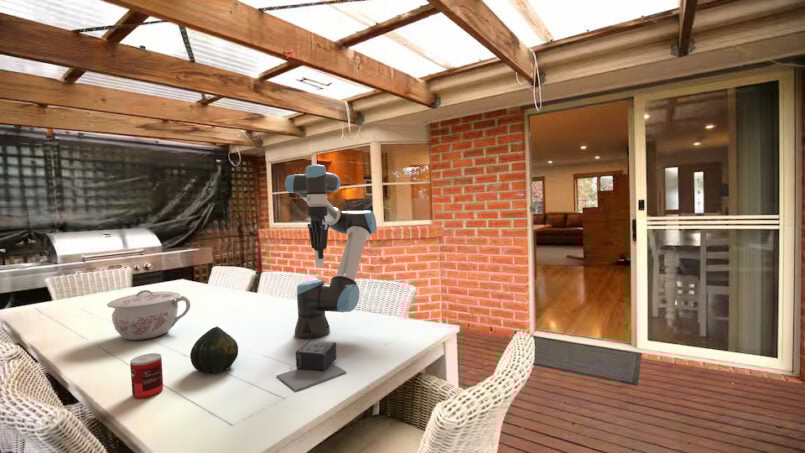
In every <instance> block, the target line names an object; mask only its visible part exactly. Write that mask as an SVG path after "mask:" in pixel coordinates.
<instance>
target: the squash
mask: <svg viewBox="0 0 805 453" xmlns="http://www.w3.org/2000/svg"><path fill="white" fill-rule="evenodd" d="M238 355H239V345H238V343H237V341H236V339H234V338H233V336H231V335H230V334H229V333H228V332H226V331H224V330H223V329H222V328H220V327H219V326H217V325H216V326H214V327H212V328H211V329H209V330H208V331H206V332H205V333H204V334H202V335H201V336H200V337H199V338H198V339H197V340H196V341H195V343H194V344H193V346H192V347H191V350H190V354H189V357H190V358H189V359H190V363H191V365H192V367H193V368H194V369H195V370H196V371H198V372H199V373H205V372H211V371H212V373H214V374H219V373H221V372H222V371H227V370H228V369H230V368H231V367H232V365H233V364H234V363H235V361H236V360H237V358H238Z"/></svg>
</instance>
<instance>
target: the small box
mask: <svg viewBox="0 0 805 453" xmlns="http://www.w3.org/2000/svg"><path fill="white" fill-rule="evenodd" d="M336 359H337V342H335V341H334V342H333V341H315V340H309V341H307V342H306V343H305V344H303V346H301V347H299V348H298V349H297V350H296V351H295V360H296V361H295V364H296V369H306V370H318V371H325V370H326V369H327V368H328V367H329V366H330V365H331V364H333V363H334V361H336Z"/></svg>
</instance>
